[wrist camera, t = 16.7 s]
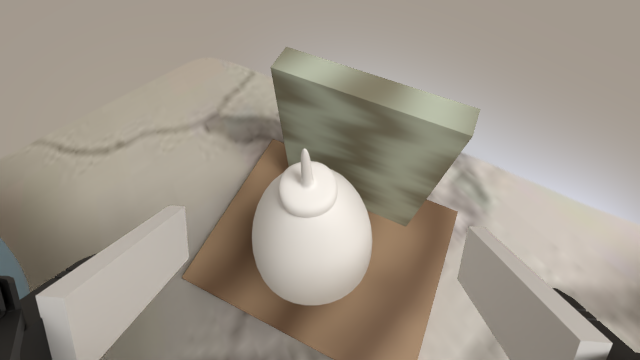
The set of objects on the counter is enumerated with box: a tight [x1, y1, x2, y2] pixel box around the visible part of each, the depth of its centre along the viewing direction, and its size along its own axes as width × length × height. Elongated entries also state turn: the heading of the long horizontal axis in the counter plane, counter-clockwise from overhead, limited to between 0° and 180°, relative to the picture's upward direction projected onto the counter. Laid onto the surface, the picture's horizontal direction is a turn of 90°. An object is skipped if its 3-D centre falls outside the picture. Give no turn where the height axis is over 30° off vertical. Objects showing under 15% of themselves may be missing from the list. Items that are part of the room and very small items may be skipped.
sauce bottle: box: [252, 148, 372, 305], centre depth 19 cm, size 8×8×18 cm
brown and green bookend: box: [182, 47, 480, 360], centre depth 22 cm, size 20×16×16 cm
